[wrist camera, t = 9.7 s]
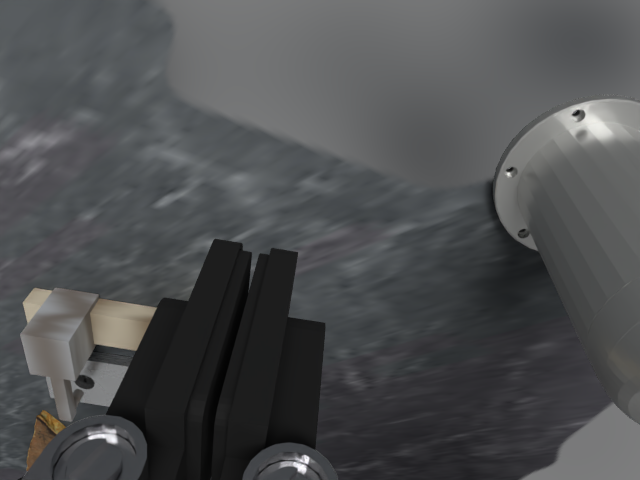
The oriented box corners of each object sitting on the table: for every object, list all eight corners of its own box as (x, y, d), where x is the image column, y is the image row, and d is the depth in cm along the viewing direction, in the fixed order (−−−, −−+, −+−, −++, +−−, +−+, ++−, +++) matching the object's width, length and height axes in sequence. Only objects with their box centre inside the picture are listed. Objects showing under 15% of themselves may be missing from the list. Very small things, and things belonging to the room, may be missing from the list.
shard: (44, 402, 59) (34, 419, 57) (124, 429, 61) (116, 445, 59) (30, 460, 66) (21, 476, 64) (102, 482, 68) (94, 498, 66)
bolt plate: (281, 381, 53) (280, 391, 52) (274, 422, 57) (273, 433, 56) (46, 343, 53) (39, 353, 51) (56, 388, 57) (50, 398, 56)
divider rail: (291, 325, 49) (283, 376, 44) (277, 405, 56) (269, 457, 51) (33, 283, 48) (-5, 330, 43) (52, 370, 55) (21, 418, 50)
